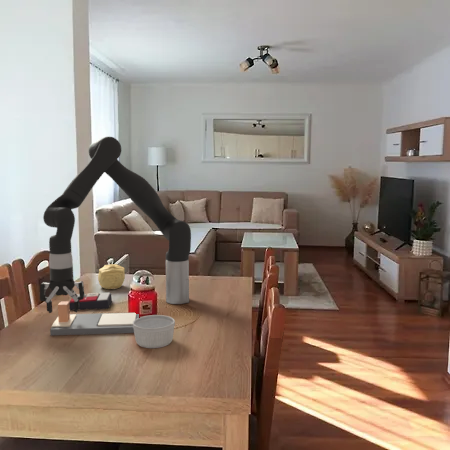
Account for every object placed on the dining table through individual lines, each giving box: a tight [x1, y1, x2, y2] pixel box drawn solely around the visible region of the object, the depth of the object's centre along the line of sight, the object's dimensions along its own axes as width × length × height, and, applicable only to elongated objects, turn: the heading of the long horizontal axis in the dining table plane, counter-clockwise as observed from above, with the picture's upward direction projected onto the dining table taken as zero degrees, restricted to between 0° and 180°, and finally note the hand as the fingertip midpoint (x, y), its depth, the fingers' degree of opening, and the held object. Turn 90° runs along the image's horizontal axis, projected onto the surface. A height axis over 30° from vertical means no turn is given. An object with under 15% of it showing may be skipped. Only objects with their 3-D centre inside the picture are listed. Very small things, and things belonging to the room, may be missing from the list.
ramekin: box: [133, 314, 176, 349], centre depth 162 cm, size 13×13×7 cm
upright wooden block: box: [50, 300, 78, 328], centre depth 175 cm, size 6×12×6 cm, turn 6°
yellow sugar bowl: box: [97, 263, 126, 290], centre depth 227 cm, size 11×12×11 cm
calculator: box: [69, 292, 113, 311], centre depth 201 cm, size 11×4×15 cm
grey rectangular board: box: [49, 312, 139, 336], centre depth 176 cm, size 28×16×2 cm, turn 96°
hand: (63, 311), depth 175 cm, fingers open, 8 cm apart
